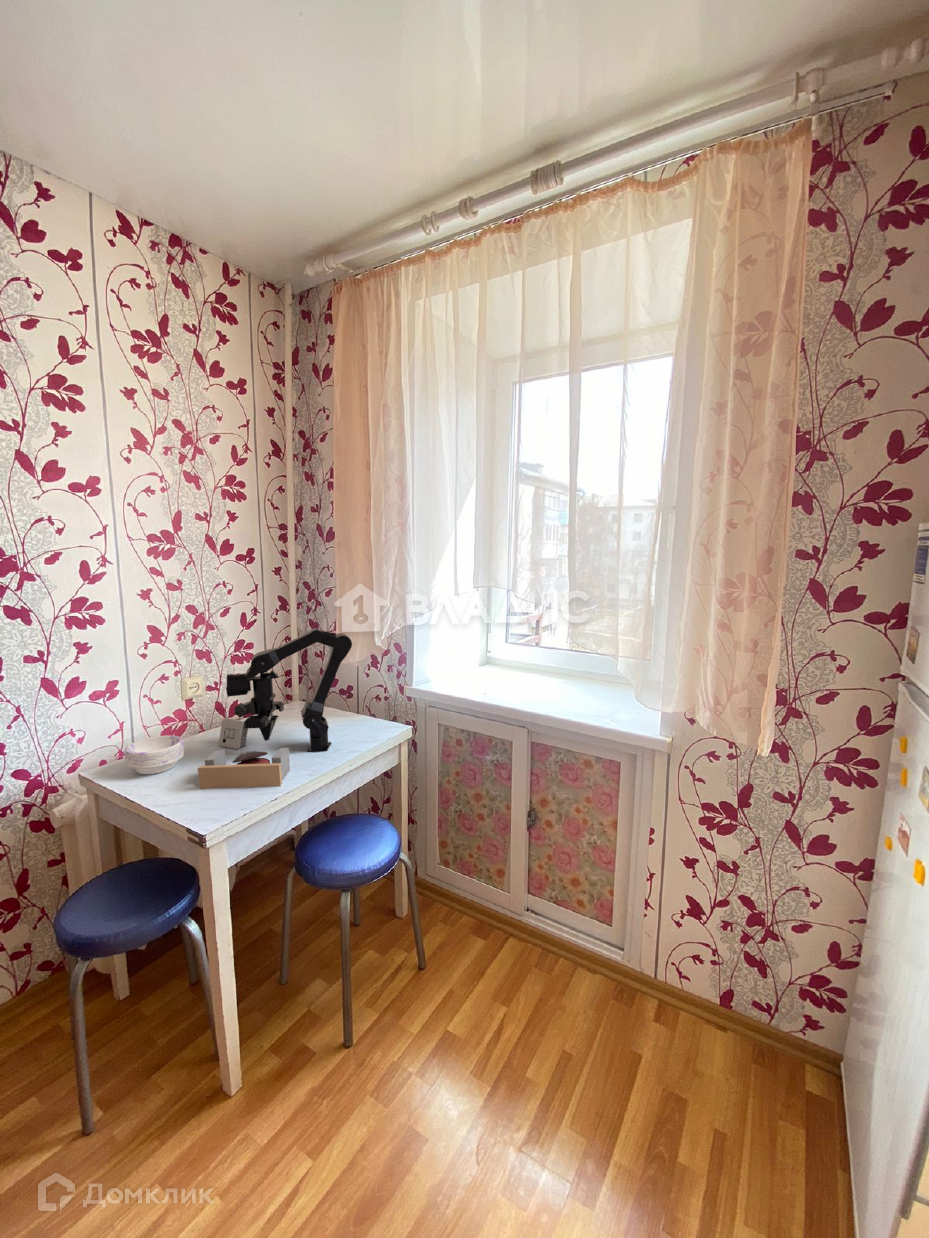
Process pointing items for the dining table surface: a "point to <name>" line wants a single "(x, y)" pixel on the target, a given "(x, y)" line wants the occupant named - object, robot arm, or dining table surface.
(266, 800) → the dining table surface
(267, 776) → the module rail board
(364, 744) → the dining table surface
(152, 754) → the paper bowls
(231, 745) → the electrical switch
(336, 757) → the dining table surface
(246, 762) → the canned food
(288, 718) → the dining table surface
